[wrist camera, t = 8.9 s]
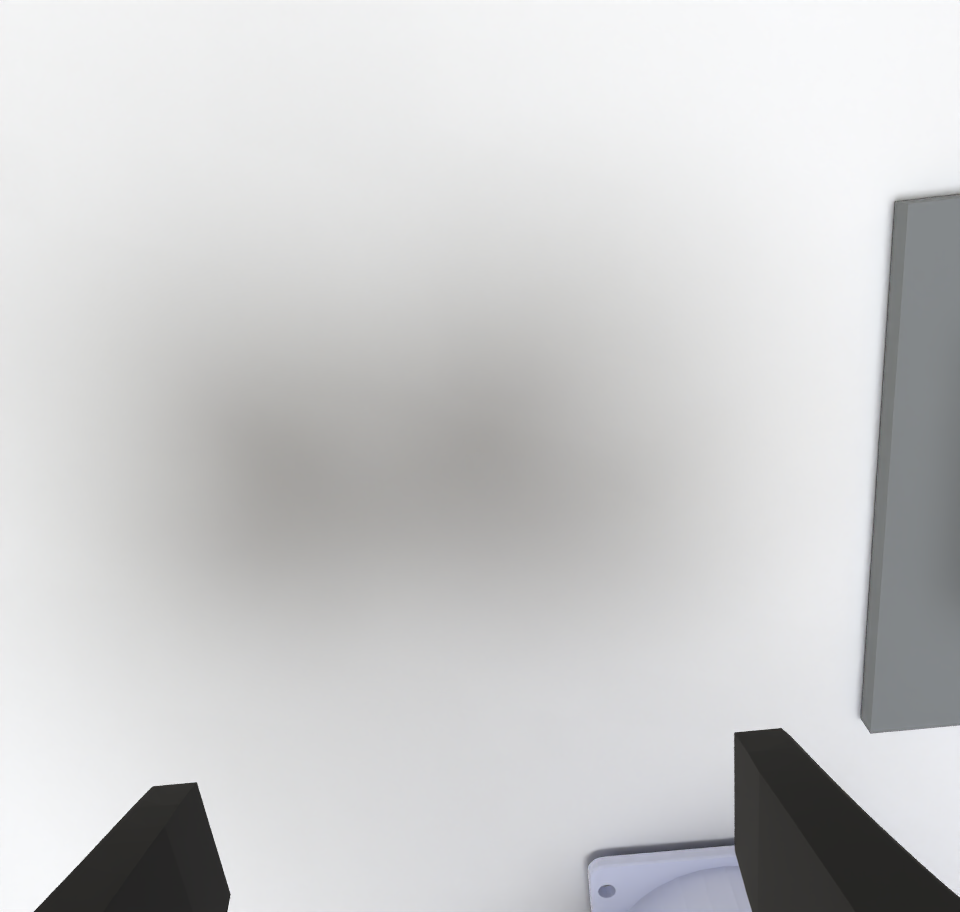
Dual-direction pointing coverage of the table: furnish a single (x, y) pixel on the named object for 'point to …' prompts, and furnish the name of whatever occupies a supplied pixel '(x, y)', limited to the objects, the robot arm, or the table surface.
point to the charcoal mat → (918, 482)
